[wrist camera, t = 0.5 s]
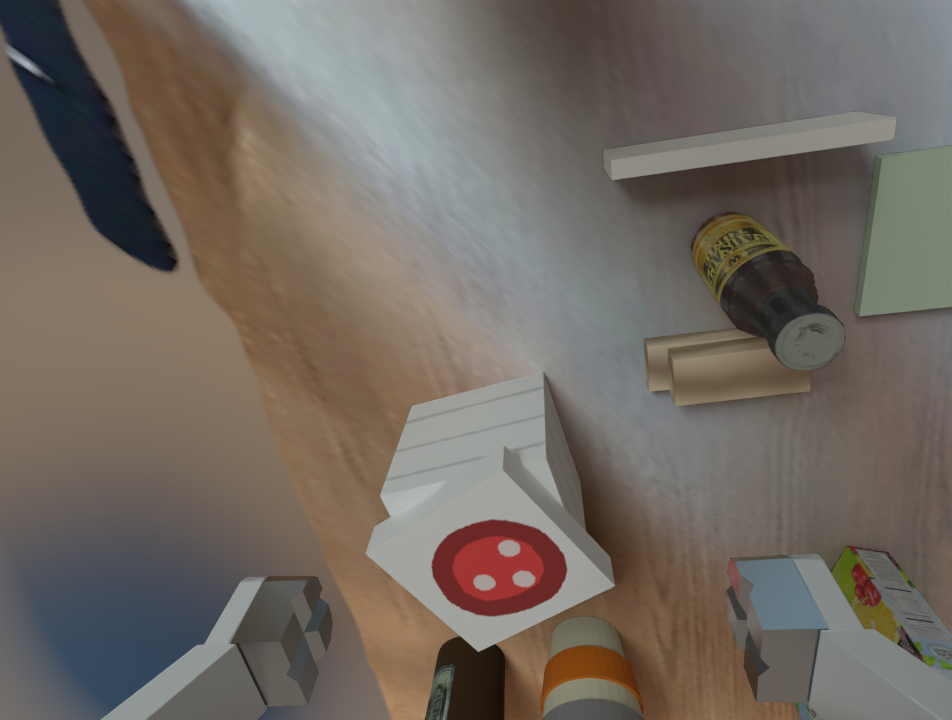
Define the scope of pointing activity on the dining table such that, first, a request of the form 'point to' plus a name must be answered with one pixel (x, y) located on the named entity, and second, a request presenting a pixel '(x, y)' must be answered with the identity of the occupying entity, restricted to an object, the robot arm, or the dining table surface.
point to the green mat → (908, 234)
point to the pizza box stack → (489, 513)
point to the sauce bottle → (766, 291)
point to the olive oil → (467, 683)
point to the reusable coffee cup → (589, 674)
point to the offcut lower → (658, 346)
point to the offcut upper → (730, 372)
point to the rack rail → (748, 144)
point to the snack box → (890, 610)
